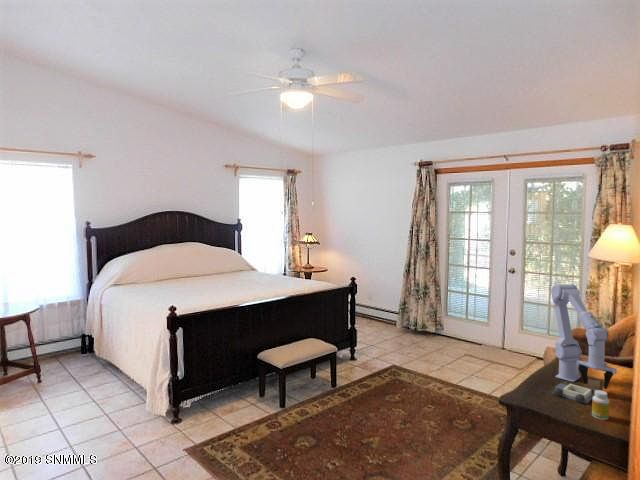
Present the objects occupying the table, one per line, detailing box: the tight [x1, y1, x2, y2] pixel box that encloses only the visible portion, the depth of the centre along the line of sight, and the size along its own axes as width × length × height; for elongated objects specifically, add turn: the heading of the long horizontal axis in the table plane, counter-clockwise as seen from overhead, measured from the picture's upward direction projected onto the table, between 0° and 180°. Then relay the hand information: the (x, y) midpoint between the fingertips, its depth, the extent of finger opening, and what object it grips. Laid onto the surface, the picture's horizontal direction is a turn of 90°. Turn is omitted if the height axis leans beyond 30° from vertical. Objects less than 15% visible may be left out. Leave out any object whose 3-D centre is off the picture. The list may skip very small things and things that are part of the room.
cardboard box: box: [587, 376, 604, 396], centre depth 181 cm, size 4×4×6 cm
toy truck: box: [552, 380, 595, 404], centre depth 179 cm, size 12×13×3 cm
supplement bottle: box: [591, 390, 610, 421], centre depth 160 cm, size 5×5×10 cm
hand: (595, 385), depth 181 cm, fingers open, 7 cm apart
